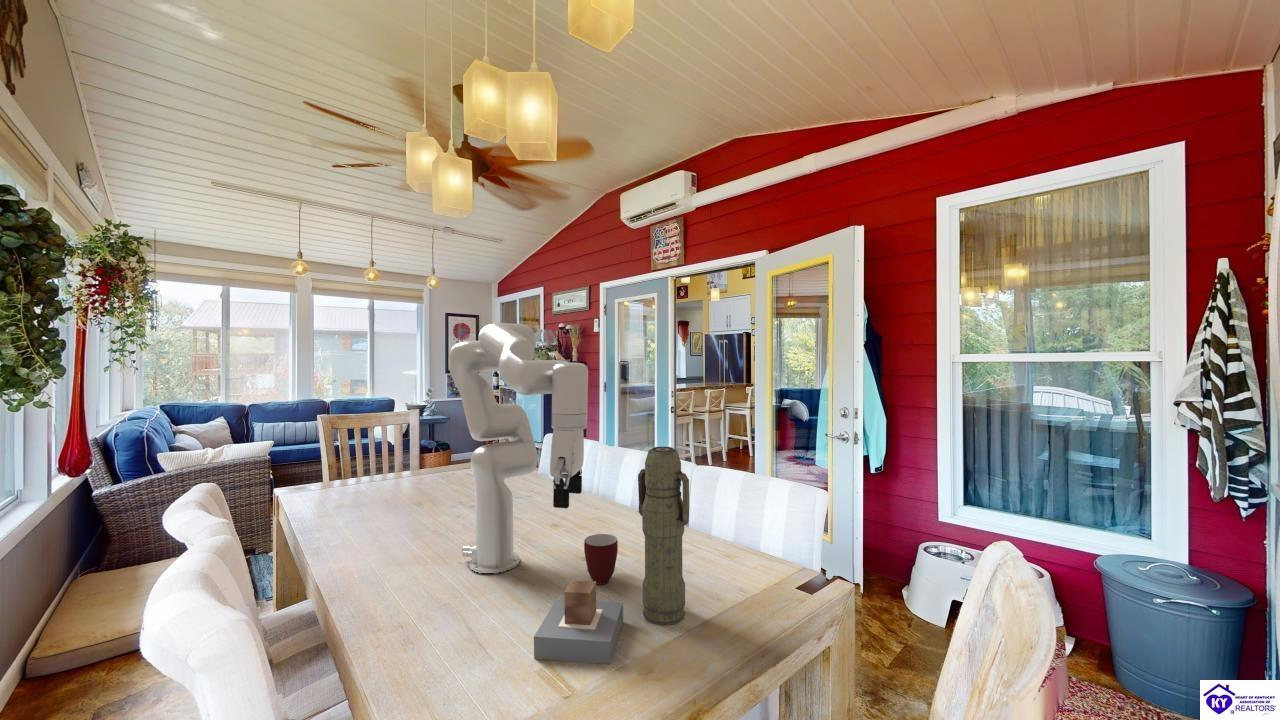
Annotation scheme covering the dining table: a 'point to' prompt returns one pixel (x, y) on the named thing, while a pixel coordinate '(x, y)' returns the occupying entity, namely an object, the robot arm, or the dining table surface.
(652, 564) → the thermos
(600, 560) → the mug
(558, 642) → the slate pedestal
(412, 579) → the dining table surface
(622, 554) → the dining table surface
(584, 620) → the walnut block
